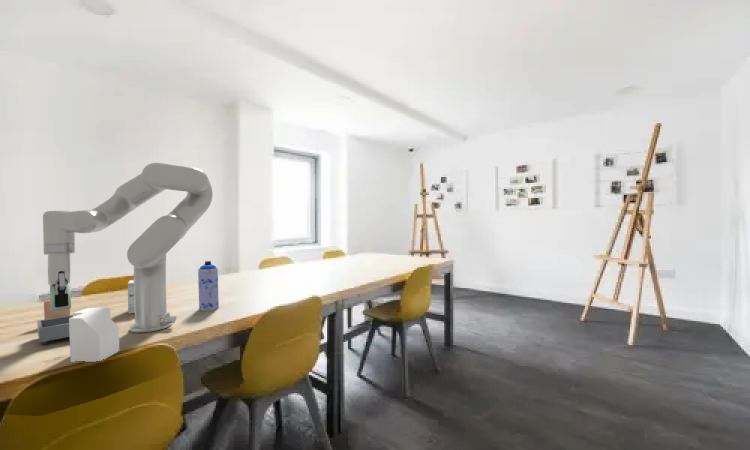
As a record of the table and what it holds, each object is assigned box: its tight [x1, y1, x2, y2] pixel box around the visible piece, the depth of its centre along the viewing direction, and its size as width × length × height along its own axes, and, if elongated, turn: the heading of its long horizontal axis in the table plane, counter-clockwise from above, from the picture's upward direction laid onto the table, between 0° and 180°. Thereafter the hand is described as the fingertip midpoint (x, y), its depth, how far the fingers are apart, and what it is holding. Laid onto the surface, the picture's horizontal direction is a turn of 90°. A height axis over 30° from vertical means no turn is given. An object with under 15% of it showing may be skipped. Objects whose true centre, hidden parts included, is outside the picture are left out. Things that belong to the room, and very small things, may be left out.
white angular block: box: [69, 307, 120, 363], centre depth 102 cm, size 11×11×12 cm
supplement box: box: [127, 279, 135, 315], centre depth 147 cm, size 7×7×13 cm
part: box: [49, 282, 72, 311], centre depth 115 cm, size 5×5×8 cm
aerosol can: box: [197, 260, 220, 312], centre depth 149 cm, size 8×8×20 cm
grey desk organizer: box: [36, 299, 73, 345], centre depth 121 cm, size 27×12×9 cm, turn 46°
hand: (60, 304), depth 115 cm, fingers closed on part, 5 cm apart
